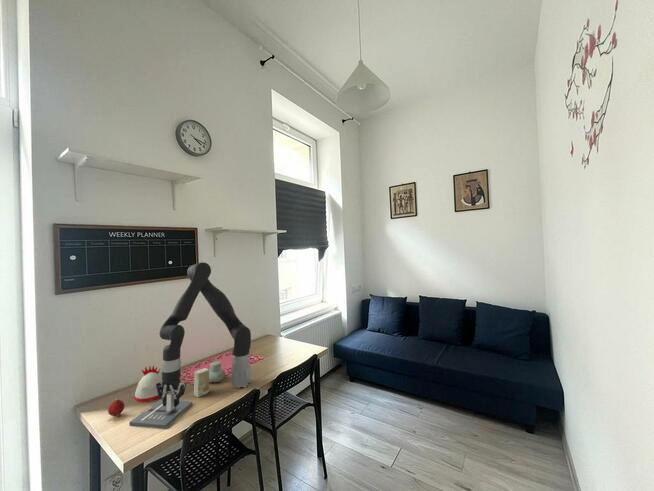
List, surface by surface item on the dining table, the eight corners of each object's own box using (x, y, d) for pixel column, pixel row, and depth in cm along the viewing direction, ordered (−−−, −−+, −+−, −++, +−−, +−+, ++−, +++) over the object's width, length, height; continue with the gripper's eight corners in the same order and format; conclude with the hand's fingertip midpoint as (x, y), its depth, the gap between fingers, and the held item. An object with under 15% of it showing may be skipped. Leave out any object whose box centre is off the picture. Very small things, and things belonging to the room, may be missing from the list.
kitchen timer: (138, 391, 143) (139, 362, 143) (168, 385, 148) (168, 358, 149) (131, 404, 130) (132, 373, 130) (163, 398, 135) (164, 368, 136)
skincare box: (198, 397, 136) (198, 373, 136) (193, 395, 138) (193, 371, 139) (209, 392, 141) (209, 369, 142) (204, 390, 144) (204, 367, 144)
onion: (114, 412, 123) (114, 395, 123) (127, 412, 124) (127, 394, 124) (104, 420, 117) (105, 402, 118) (118, 420, 118) (118, 401, 118)
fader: (176, 407, 124) (176, 389, 124) (168, 414, 119) (169, 395, 119) (172, 407, 124) (172, 389, 124) (164, 413, 119) (165, 394, 119)
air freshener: (215, 385, 149) (215, 367, 149) (202, 384, 150) (203, 366, 151) (227, 376, 159) (227, 360, 159) (214, 375, 161) (215, 358, 161)
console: (192, 404, 130) (192, 401, 130) (165, 428, 112) (165, 425, 112) (160, 402, 132) (160, 398, 132) (129, 425, 114) (129, 421, 114)
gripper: (191, 365, 125) (190, 402, 124) (163, 363, 127) (162, 400, 126) (180, 372, 117) (179, 411, 117) (151, 370, 119) (150, 409, 119)
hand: (170, 405), depth 121 cm, fingers open, 4 cm apart
